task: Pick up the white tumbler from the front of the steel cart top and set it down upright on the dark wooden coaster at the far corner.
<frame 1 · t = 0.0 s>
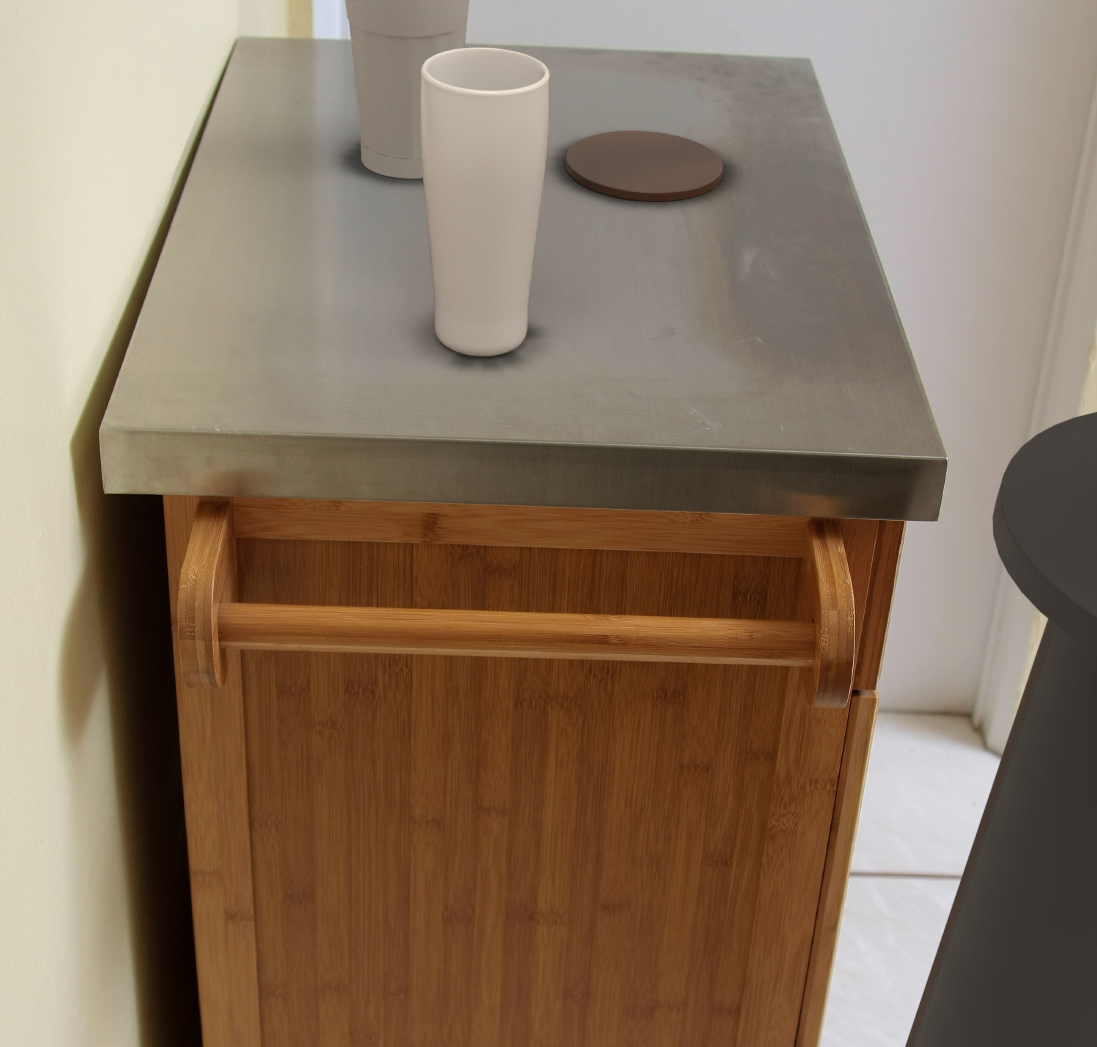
cup: (409, 161, 108), on the cabinet
coaster: (643, 168, 108), on the cabinet
white tumbler: (480, 341, 89), on the cabinet
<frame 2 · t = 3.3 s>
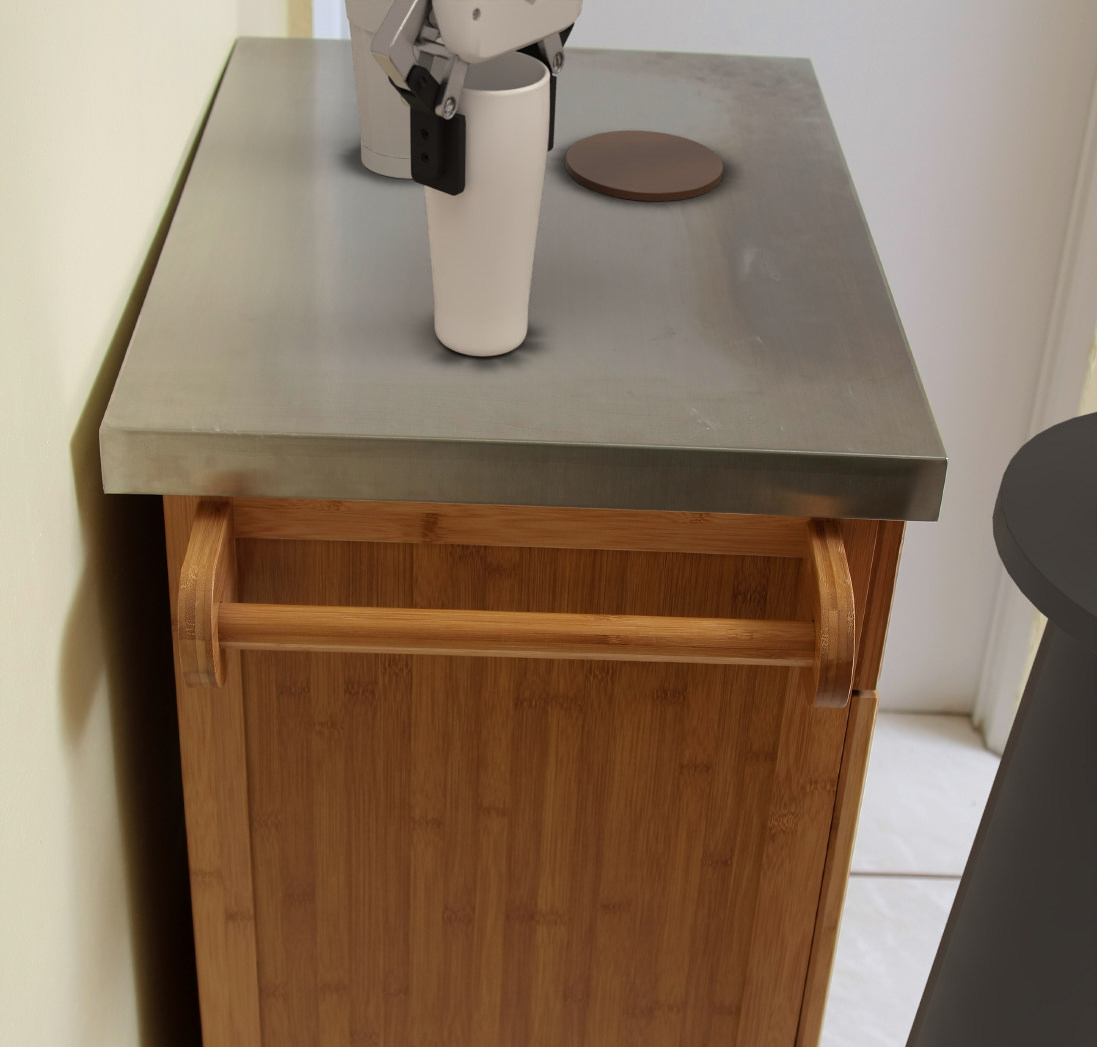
hand: (483, 163, 82), 10 cm above the cabinet, tool pointing down, fingers closed on white tumbler, 6 cm apart
white tumbler: (480, 341, 89), on the cabinet, touching gripper
everything else where it was.
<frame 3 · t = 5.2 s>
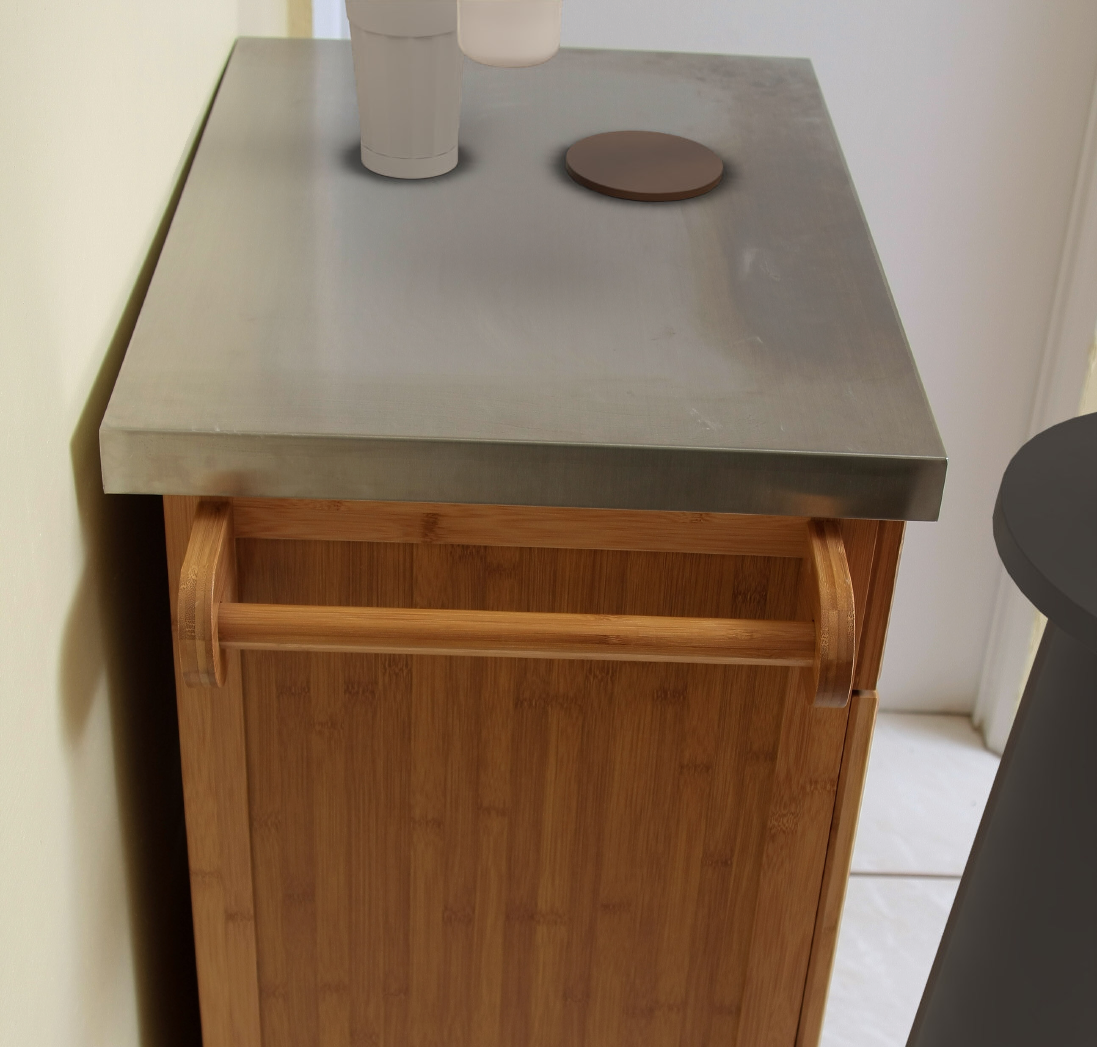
white tumbler: (508, 58, 81), point 15 cm above the cabinet, touching gripper
everything else where it was.
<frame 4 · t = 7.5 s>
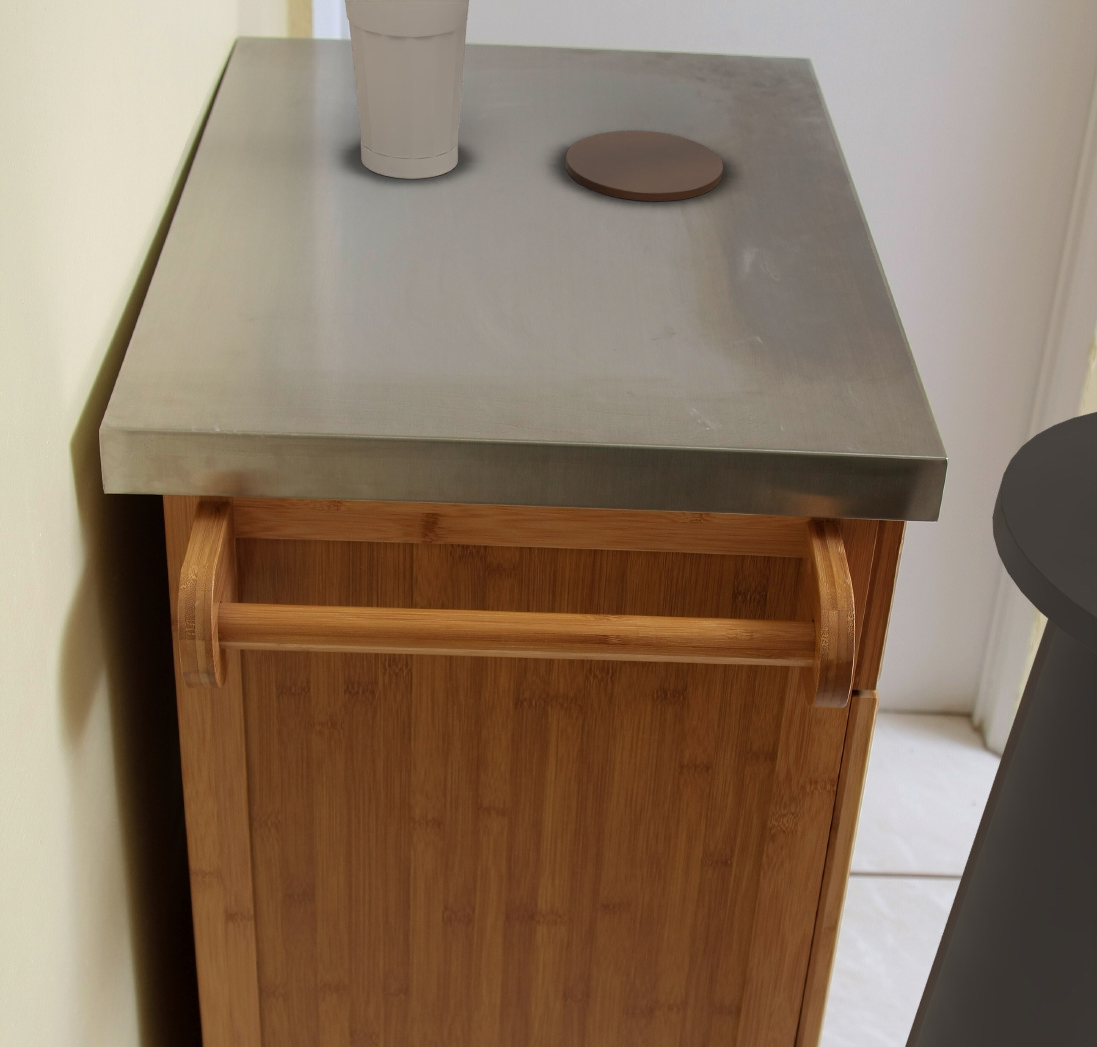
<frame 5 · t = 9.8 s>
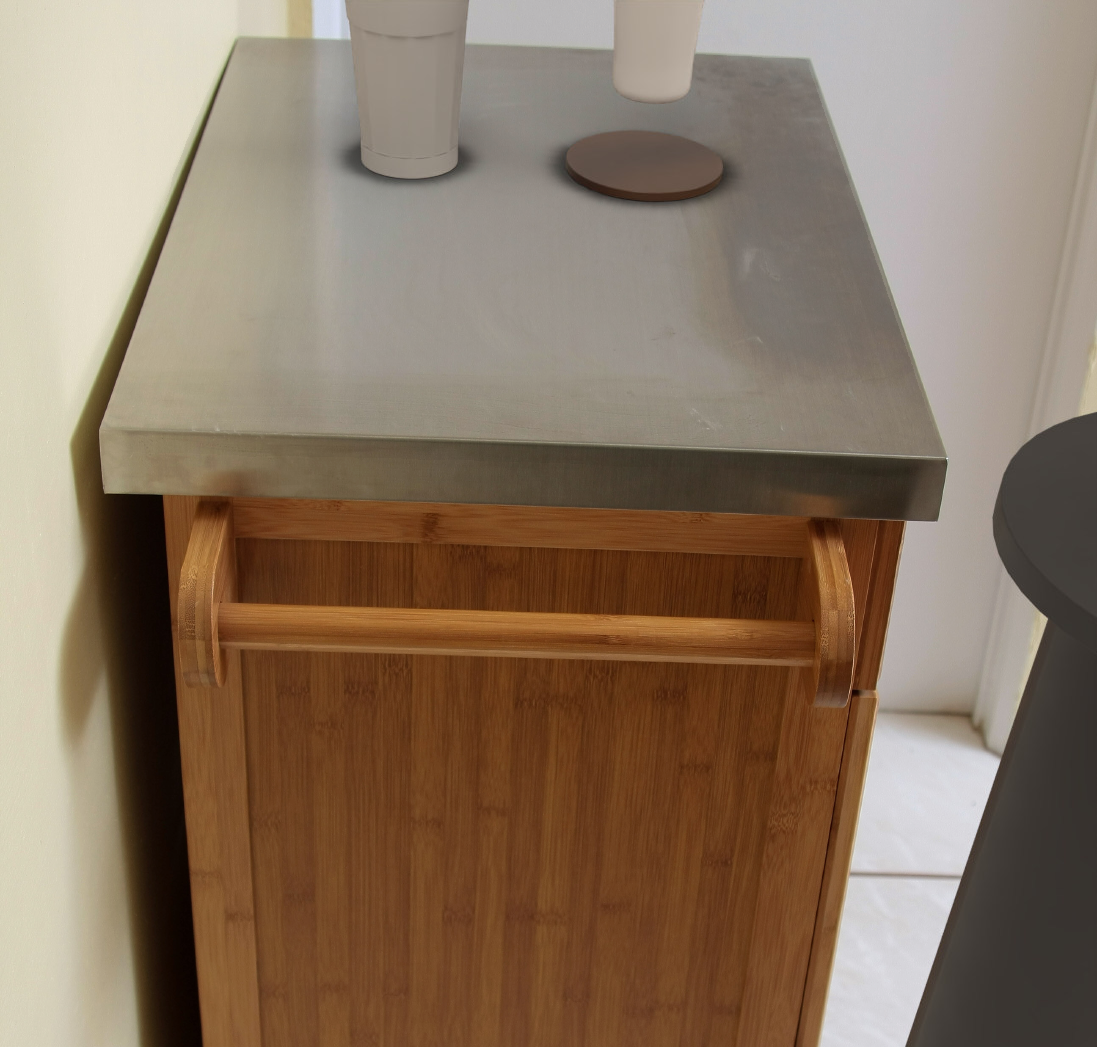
white tumbler: (650, 95, 105), point 5 cm above the cabinet, touching gripper
everything else where it was.
when the fingers open (11 cm above the cabinet, at t = 11.7 s): white tumbler stays where it is, resting on coaster.
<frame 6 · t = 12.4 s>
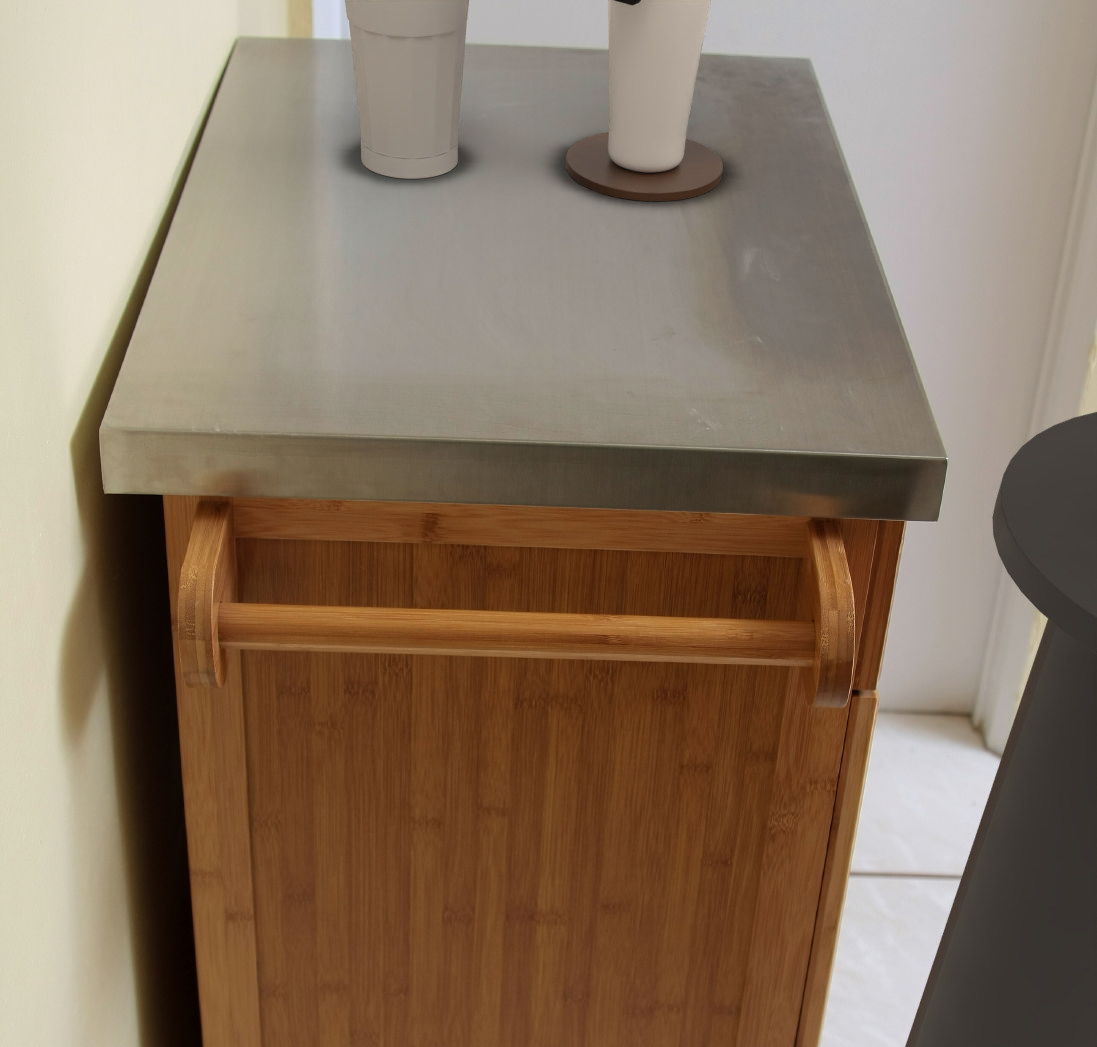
white tumbler: (644, 163, 108), resting on coaster
everything else where it was.
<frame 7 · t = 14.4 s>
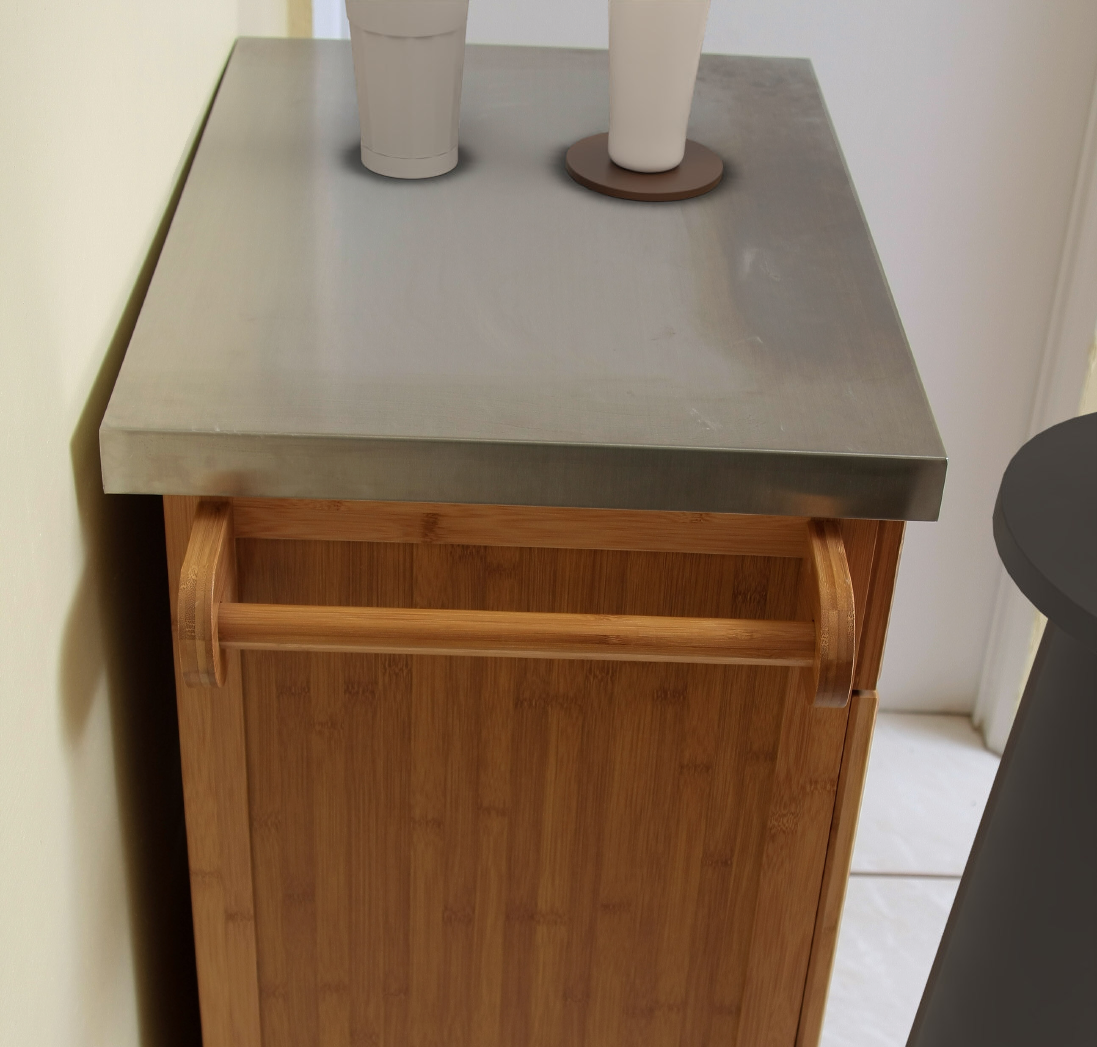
nothing on the cabinet moved.
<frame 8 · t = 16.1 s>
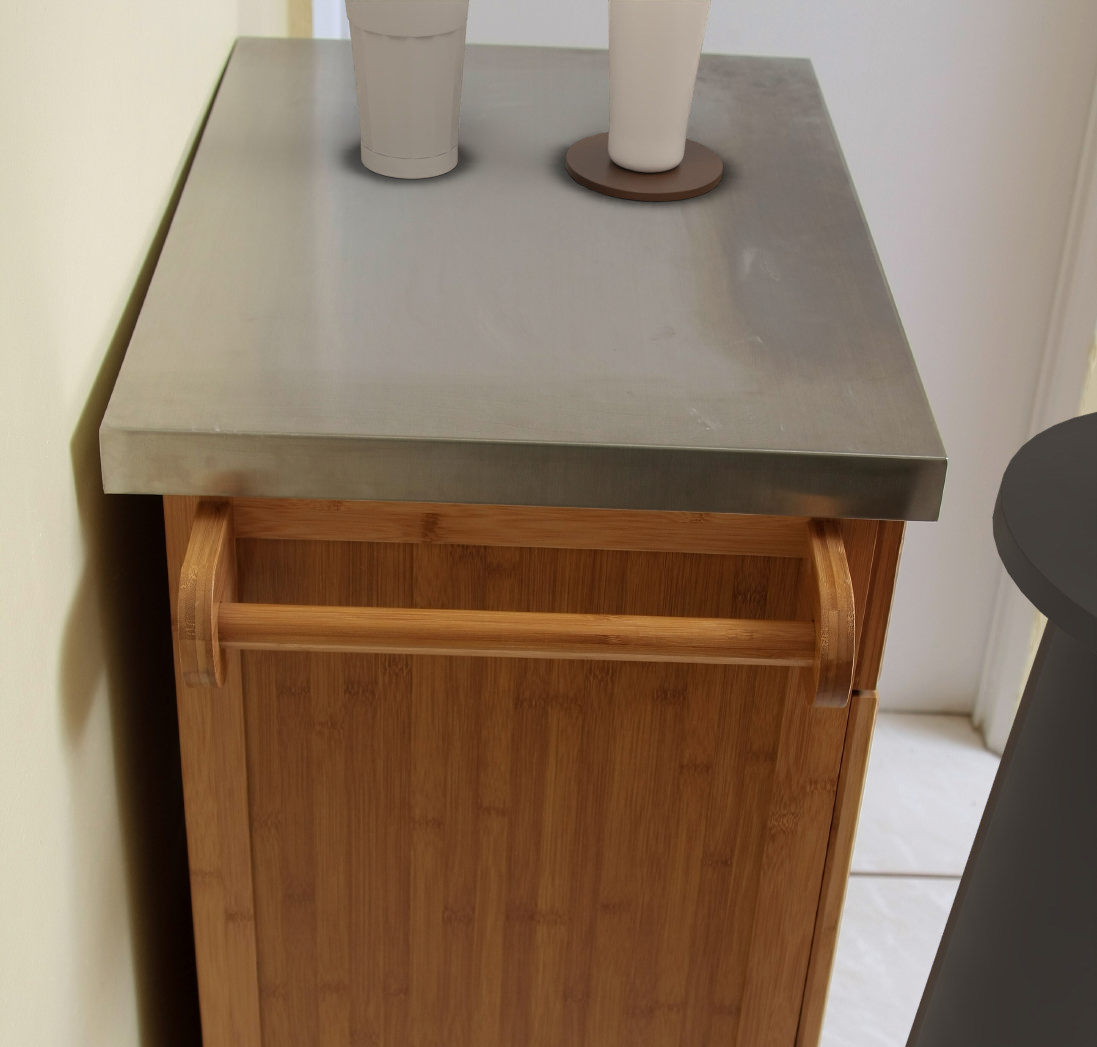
nothing on the cabinet moved.
at the end: white tumbler 0.1 cm off-centre on the coaster, point 0.4 cm above the coaster's base; white tumbler tilted 0°; the gripper is holding nothing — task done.
